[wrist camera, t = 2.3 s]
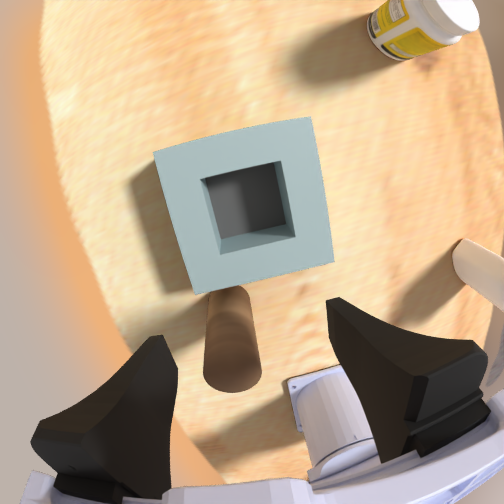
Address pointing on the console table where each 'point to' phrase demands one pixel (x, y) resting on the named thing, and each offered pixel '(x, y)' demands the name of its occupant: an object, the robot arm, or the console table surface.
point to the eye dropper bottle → (480, 270)
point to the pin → (231, 342)
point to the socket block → (247, 203)
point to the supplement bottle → (420, 26)
